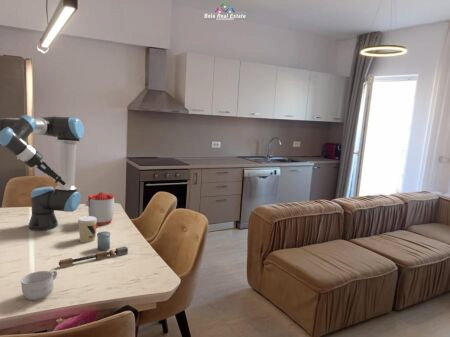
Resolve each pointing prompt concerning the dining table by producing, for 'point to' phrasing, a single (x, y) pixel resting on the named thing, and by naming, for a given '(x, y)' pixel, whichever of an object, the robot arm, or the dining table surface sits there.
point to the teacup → (38, 284)
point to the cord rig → (94, 256)
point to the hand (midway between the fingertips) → (65, 185)
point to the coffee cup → (87, 228)
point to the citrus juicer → (101, 207)
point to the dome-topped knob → (103, 241)
